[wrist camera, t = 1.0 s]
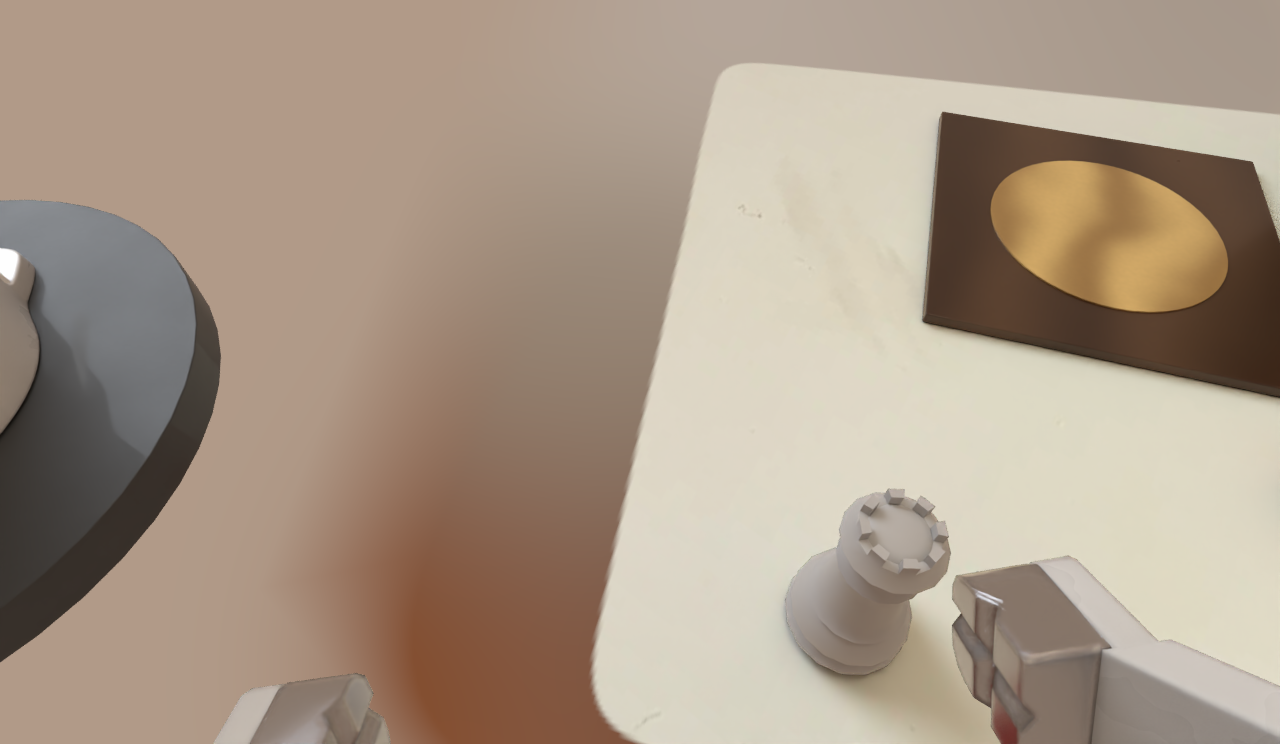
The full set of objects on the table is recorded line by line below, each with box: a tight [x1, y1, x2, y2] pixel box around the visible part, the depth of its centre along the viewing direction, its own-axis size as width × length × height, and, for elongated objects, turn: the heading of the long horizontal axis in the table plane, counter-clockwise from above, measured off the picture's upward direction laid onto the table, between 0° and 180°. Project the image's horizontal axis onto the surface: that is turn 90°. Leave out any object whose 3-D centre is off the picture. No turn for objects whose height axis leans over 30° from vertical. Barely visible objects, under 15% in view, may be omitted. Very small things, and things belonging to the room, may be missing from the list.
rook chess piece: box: [785, 489, 951, 675], centre depth 24 cm, size 4×4×8 cm
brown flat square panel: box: [923, 112, 1280, 397], centre depth 39 cm, size 18×18×1 cm
